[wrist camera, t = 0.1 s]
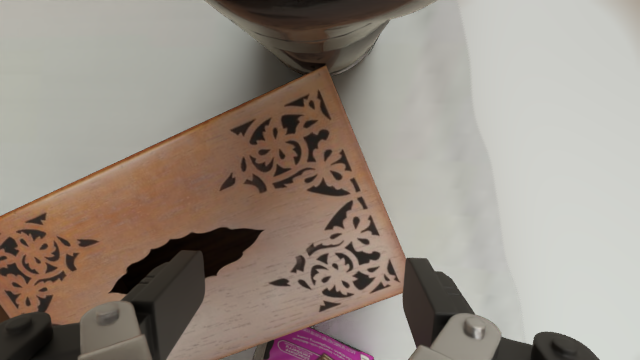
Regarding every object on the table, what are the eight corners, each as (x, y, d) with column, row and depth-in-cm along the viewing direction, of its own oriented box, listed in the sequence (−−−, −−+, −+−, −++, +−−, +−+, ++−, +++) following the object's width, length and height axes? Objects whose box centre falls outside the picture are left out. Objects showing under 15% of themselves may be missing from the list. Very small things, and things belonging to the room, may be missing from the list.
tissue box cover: (149, 321, 34) (76, 410, 24) (70, 194, 31) (-48, 238, 21) (390, 228, 31) (417, 287, 21) (327, 76, 28) (325, 65, 18)
